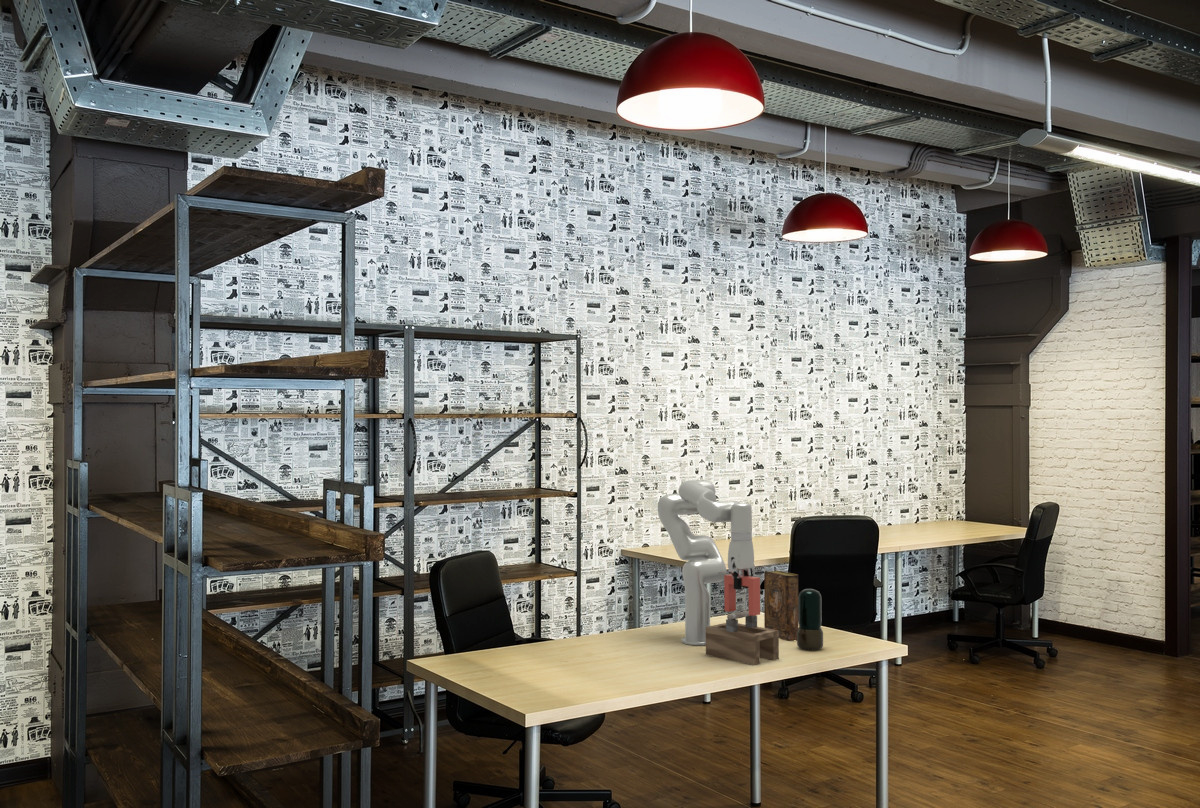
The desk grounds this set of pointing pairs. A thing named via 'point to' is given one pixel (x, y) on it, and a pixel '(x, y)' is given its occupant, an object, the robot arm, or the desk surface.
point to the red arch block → (754, 593)
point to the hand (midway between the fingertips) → (741, 588)
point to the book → (781, 603)
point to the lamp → (809, 620)
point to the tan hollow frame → (742, 640)
